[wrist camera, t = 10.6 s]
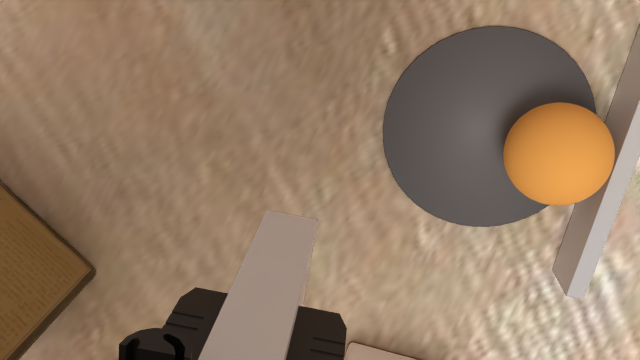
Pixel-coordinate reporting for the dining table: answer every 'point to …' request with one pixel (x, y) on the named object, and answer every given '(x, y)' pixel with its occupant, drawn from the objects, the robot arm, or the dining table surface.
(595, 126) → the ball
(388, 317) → the dining table surface
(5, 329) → the food packaging
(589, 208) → the wall
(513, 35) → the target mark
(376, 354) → the medicine bottle
